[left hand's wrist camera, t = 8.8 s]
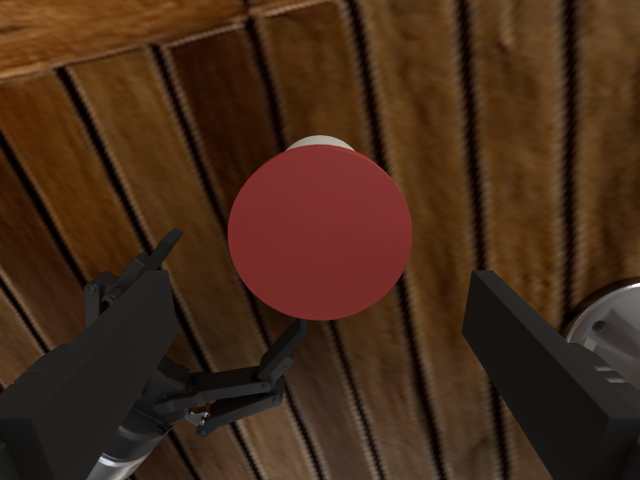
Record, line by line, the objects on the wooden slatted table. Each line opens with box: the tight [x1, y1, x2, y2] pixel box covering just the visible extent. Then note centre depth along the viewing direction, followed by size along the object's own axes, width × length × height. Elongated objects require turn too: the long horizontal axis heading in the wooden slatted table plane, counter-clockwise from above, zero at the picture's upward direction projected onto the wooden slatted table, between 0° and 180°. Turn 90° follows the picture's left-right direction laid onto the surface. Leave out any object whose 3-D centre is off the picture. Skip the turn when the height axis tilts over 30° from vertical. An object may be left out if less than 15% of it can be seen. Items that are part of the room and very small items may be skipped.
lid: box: [228, 144, 412, 320], centre depth 20 cm, size 10×10×2 cm
